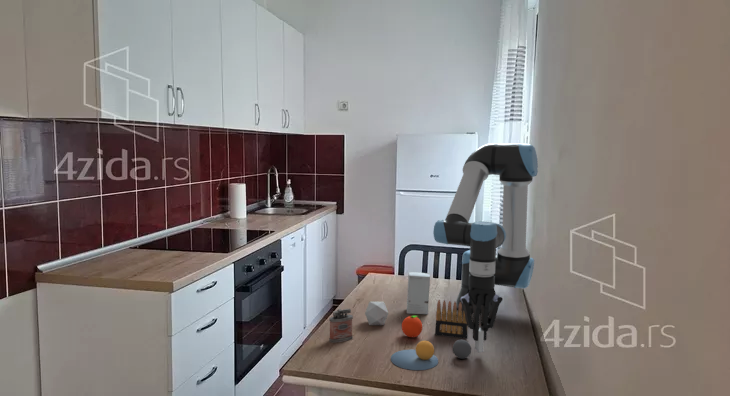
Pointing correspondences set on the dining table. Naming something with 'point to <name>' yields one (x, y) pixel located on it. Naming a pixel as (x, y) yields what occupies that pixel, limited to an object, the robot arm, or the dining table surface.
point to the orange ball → (424, 350)
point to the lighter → (341, 326)
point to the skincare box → (418, 293)
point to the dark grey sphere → (461, 349)
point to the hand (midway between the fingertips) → (478, 350)
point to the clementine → (412, 326)
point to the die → (376, 313)
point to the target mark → (412, 360)
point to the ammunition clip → (450, 321)
